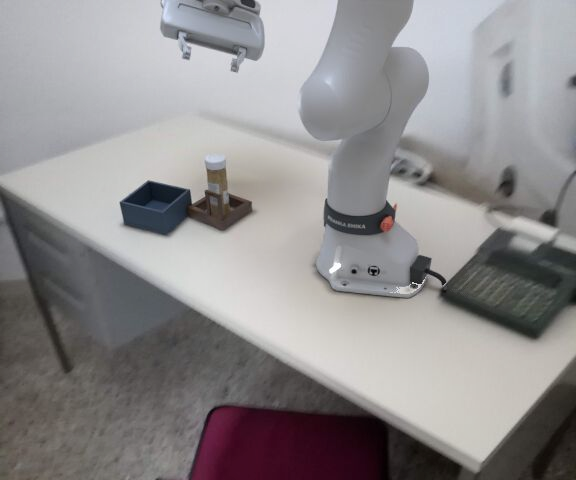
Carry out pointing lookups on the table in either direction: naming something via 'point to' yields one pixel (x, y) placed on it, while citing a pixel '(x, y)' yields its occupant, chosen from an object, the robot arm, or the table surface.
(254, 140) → the table surface
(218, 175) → the sprinkles bottle
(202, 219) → the rack
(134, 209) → the open box
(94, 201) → the table surface
